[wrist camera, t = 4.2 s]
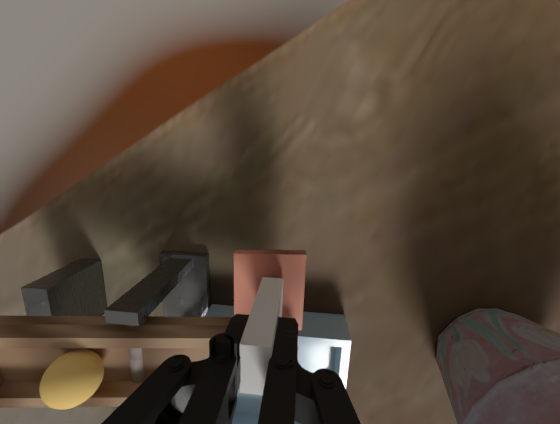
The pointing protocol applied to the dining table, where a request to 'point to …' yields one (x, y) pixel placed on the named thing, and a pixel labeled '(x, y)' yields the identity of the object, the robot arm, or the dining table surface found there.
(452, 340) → the potted plant
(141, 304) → the fulcrum
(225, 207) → the dining table surface
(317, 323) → the dish
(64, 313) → the block
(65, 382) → the ball
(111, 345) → the brown wooden trough
